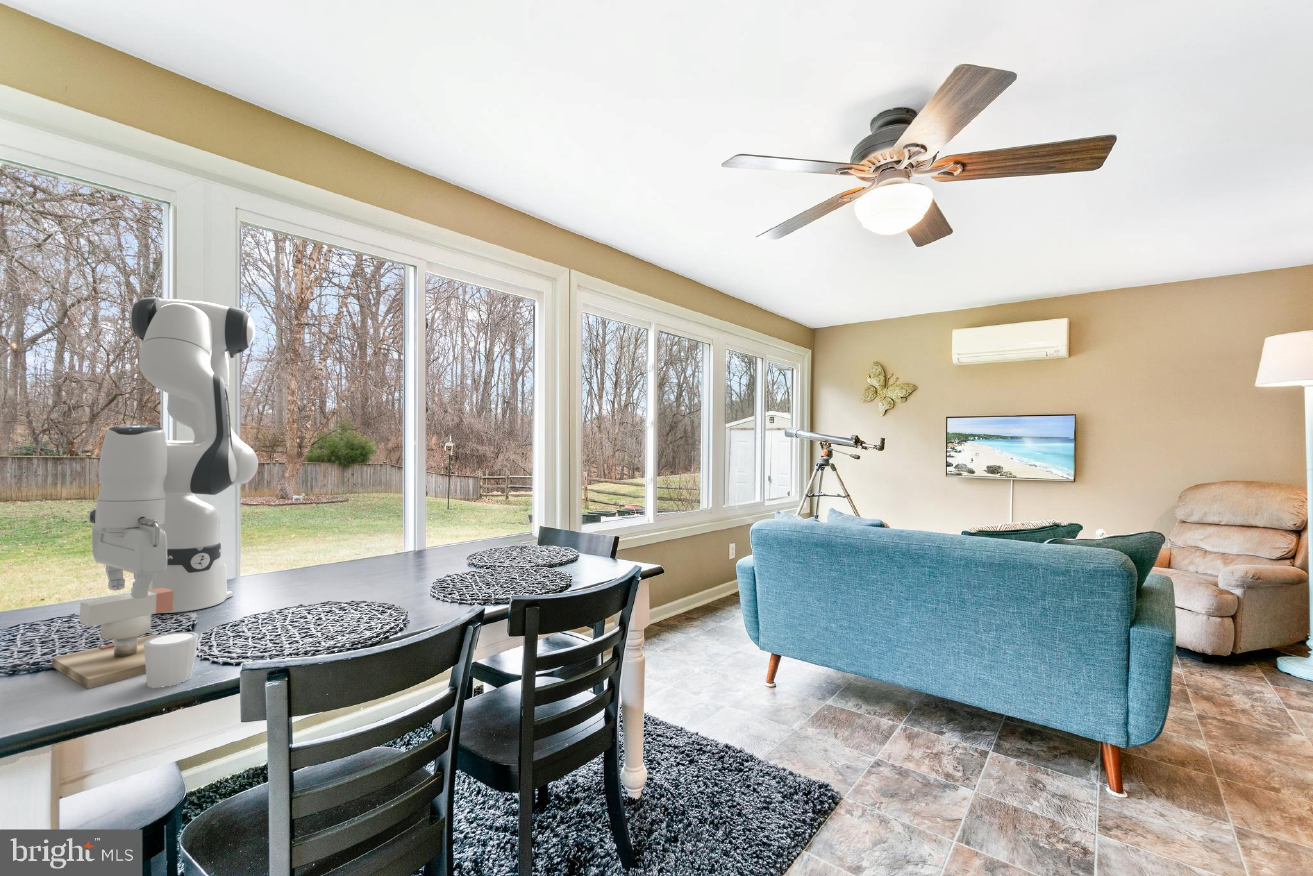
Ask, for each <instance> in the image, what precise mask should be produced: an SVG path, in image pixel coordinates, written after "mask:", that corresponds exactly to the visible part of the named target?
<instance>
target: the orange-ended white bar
mask: <svg viewBox="0 0 1313 876" xmlns="http://www.w3.org/2000/svg"><path fill="white" fill-rule="evenodd" d="M172 610H173V591H172V590H169V589H166V588H157V589H151V590H148V595H147V597H145V598H139V599H136V598H133V597H131V592H130V593H125V594H124V593H123V594H119V595H113V596H107V597H101V598H97V599H96V598H95V599H89V600H83V601H80V606H79V623H80V624H83V625H85V626H86V627H89V628H90V627H95V626H99V625H100V626H101V627H100V639H103V640H114V639H124V638H130V637H135V636H138V637H139V636H141V635H144V634H145V635H146V634H147V633H149V632H151V630H152V615H155V614H163V613H162V612H167V611H172Z"/></svg>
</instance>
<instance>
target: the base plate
mask: <svg viewBox="0 0 1313 876" xmlns="http://www.w3.org/2000/svg"><path fill="white" fill-rule="evenodd" d="M157 636H159V635H158V634H150V635H147V636H141V637H138V641H137V653H136V654H135V655H132V656H128V657H123V658H115V657H114V642H113V643H110V644H104V645H100V646H98V647H94V648H89V649H85V650H80V651H77V652H71V653H67V654H62V655H59V656H53V657H52V658H51V666H52V665H53V667H52V668H54V669H55V670H57V671H58V672H60V673H62V674H63V675H65V676H66V677H68V678H70V679H72V680H74V681H75V682H76V683H78V684H80V685H81V686H83V687H84V688H86V689H87V690H89V689H93V688H96V687H99V686H102V685H106V684H110V683H115V682H118V681H122V680H126V679H128V678H133V677H136V676H140V675H144V674H146V665H145V652H144V642H145V641H147V640H149V639H151V638H153V637H157Z"/></svg>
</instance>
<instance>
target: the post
mask: <svg viewBox="0 0 1313 876" xmlns="http://www.w3.org/2000/svg"><path fill="white" fill-rule="evenodd" d="M138 638H139V636H135V637H130V638H124V639H113V643H114V657H115V658H123V657H128V656H132V655H135V654H136V653H137V641H138Z"/></svg>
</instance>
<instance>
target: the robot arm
mask: <svg viewBox="0 0 1313 876" xmlns="http://www.w3.org/2000/svg"><path fill="white" fill-rule="evenodd" d="M129 316H130V317H129V319H130V324H131V328H132V332H133V333H134V335H135V336H136V337H137V338H138V339H140V340H141V341H142V344H141V346H140V347H141V348H140V352H139V360H138V362H139V363H138V365H139V367H138V368H139V370H140V373H141V374H142V376H143V377H144V378H145V379H146V381H147V382H149V383H150V384H151V385H152V386H154V387H156V388H157V389H159V390H161V391H163V392H164V393H166V394H168V396H167V413H168V414H169V416H170V417H171V419H172V420H174V421H176V422H177V423H180V424H181V425H183V426H185V427H188V428H190V429H191V430H192V432H193V435H194V440H175V439H172V440H171V439H170V440H169V439H167V438H166V433H165V430H164V428H163V427H161V426H158V425H153V424H147V423H146V424H144V423H143V424H142V423H130V424H119V425H118V424H117V425H114V426H111V427H109V428H108V429H107V430H106V433H105V436H104V439H103V442H102V446H101V450H100V457H99V467H98V477H99V479H100V484H101V487H100V491H99V493H98V495H97V500H96V507H95V508H94V509H92V510H90V511H89V512H88V513H89V514H88V523H90V524H92V529H91V547H92V548H91V549H92V555H93V558H94V561H95V562H96V563H99V564H102V565H105V574H106V575H107V579H108V584H107V585H108V587H107V589H109V590H111V591H115V592H116V591H121V590H123V589H124V588H125V584H126V579H125V578H124V571H125V572H128V573H132V574H133V579H134V581H133V582H132V587H131V589H130V591H131V592H130V593H131V597H133V598H136V599H139V598H145V597H147V595H148V590H151V589H157V588H166V589H169V590H172V591H173V610H172V611H167V612H162V613H161V614H168V613H169V614H172V613H183V612H189V611H190V612H191V611H197V610H201V609H205V608H206V609H207V608H210V607H214V606H217V605H219V604H221V603H223V602H224V601H226V600H227V599H228V598H231V597H233V595H234V592H233V591H230V590H228V581H227V580H228V579H227V578H228V577H227V565H226V563H224V562H222V560H220V558H221V556H222V555H221V553H222V547H221V542H220V541H219V539H220V523H221V522H220V520H221V515H220V512H219V511H218V509H217V508H216V507H215V506H213V505H212V504H211V503H207V502H206V501H204V500H202V499H200V498H198V496H196V495H206V496H207V495H209V496H210V495H211V496H216V495H217V494H220V493H222V492H224V491H225V490H226V489H228V488H229V487H235V486H238V485H245V484H248V483H250V481H251V480H252V479H253V478H254V477H255V475H256V474H257V472H258V468H259V459H258V458H259V457H258V455H257V454H256V452H255V450H254V449H253V448H252V447H251V446H250V445H248V444H247V443H245V442H244V441H242V440H241V438H239V436H238V435H237V434H236V432H235V431H234V429H233V428H232V424H231V415H230V405H229V403H230V402H229V389H230V387H229V386H230V369H229V367H230V366H229V358H228V356H229V357H230V359H234V358H235V357H236V355H237V354H240V353H243V352H245V351H246V350H247V349H249V348H250V346H251V344H252V342H253V340H254V339H255V336H256V335H255V334H256V330H255V329H256V328H255V323H254V322H253V321H254V320H253V319H252V316H251V315H250V314H249V312H248V311H246V310H244V309H241V308H240V307H235V306H224V305H222V304H221V305H220V304H218V303H217V304H216V303H213V302H212V303H211V302H206V301H199V300H194V301H193V300H185V299H184V300H183V299H173V298H171V299H170V298H168V299H167V298H165V299H162V298H161V297H143V298H141V299H139V300H138V301H136V302H135V303H134V305H133V307H132V310H131V313H130V315H129ZM227 352H228V353H227Z"/></svg>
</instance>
